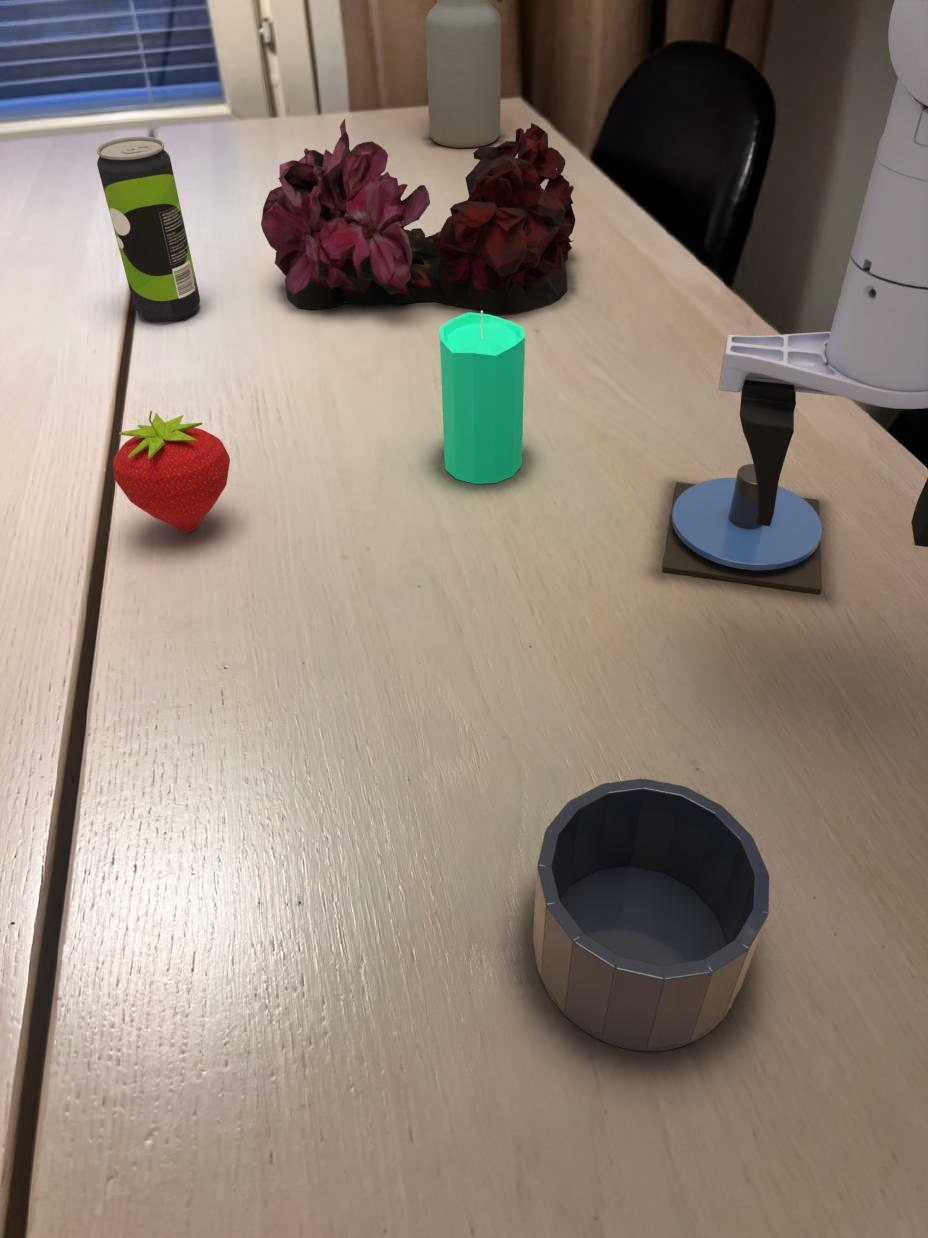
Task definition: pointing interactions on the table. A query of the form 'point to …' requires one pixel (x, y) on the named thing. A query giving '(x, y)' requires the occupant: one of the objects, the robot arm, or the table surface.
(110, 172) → the beverage can
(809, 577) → the mat
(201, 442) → the strawberry
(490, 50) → the water bottle
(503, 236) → the flower arrangement
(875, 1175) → the table surface
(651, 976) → the pot
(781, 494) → the lid
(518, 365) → the candle
